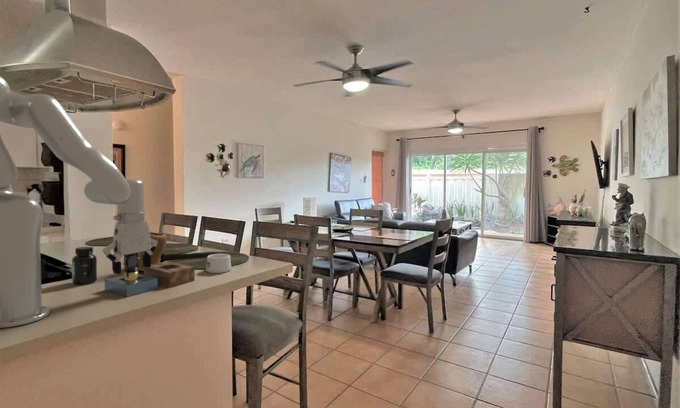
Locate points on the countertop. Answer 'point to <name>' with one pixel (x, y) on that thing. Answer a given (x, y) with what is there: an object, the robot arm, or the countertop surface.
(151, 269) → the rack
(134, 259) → the two-tone roller
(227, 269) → the mug
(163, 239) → the tan boot
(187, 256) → the wrench
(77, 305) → the countertop surface
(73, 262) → the supplement bottle
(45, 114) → the robot arm
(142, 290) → the socket block
